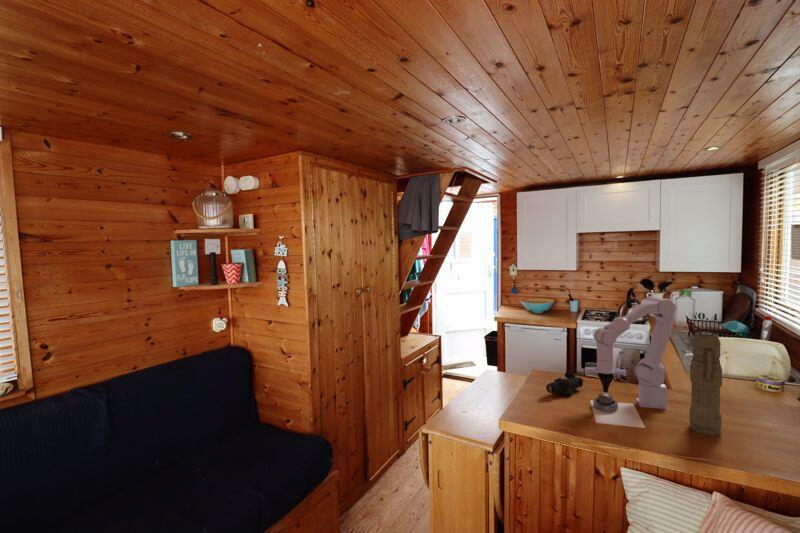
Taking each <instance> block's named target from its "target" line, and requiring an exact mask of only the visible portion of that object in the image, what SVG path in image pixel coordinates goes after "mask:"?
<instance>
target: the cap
mask: <svg viewBox="0 0 800 533" xmlns="http://www.w3.org/2000/svg"><path fill="white" fill-rule="evenodd" d="M598 397H599V403H600V404H603V405H613V399H614V398H613V395H612V394H610V393H608V392H600V393H598Z"/></svg>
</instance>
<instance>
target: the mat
mask: <svg viewBox="0 0 800 533" xmlns="http://www.w3.org/2000/svg"><path fill="white" fill-rule="evenodd" d="M589 401H590V405H591V409H592V412H593V417H594V420H595V423H596V424H603V425H611V426H623V427H629V428H630V427H631V428H642V429H646V426H645V424H644V422H643V421H642V418H641V416H640V414H639V412H638V410H637V408H636V407H635V403H629V402H627V403H625V402H617V403H618V409H617V411H616V412H611V413H609V412H602V411H599V410H597V409H595V408H594V404H593V399H591V400H589Z"/></svg>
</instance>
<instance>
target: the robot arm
mask: <svg viewBox="0 0 800 533" xmlns="http://www.w3.org/2000/svg"><path fill="white" fill-rule="evenodd" d="M676 310H677V306H676V304H675V303H674V301H673V300H672V299H669V298H662V297H659V296H654V295H647V296H646V297H645V298H644V299H642V300H641V302H640V304H638V305H637V306H636V307H635V308H633V309H632V310H630V312H628V313H627V314H625V316H623V317H621V316H618V317H615V318H613V320H612V321H611V322H608V323H607V324H605V325H604V327H599V328H597V329H596V330H595V331H594V333H593V334H592V336H593V339H594V340H595V343H596V366H589V367H587V366H585V367H584V373H585V374H597V376H598V378H599V380H600V382H601V386H602V390H603V393H608V392H609V388H610V385H611V383H612V381H613V380H614V376H615V375H617V376H624V377H627V370H626V369H624V368H622V369H621V368H617V367H614V344H615V343H616V341H617V339H618V338H619V337H620V336H621V335H622V334H624V333H625V332H626V331H628V330H630V327H631V324H633V323H635V322H636V321H638V320H640V319H642V318H643V317H645V316H646V315H652V316H653V317H654V318H655V320H656V323H655V326H654V331H653V332H652V336H651V339H650V342H649V346H648V349H647V352H646V354H645V357H643V358H641V359H640V360H639V362H638V364H637V365H636V366H635V368H634V375H635V377H637V381H638V397H636V398H635V399H636V401H637V403H638V405H639V407H640V408H648V409H649V408H651V409H661V410H668V409H669V408H668V388H667V385H666V384H664V381H665V372H666V369H665V366H664V365H663V363H662V361H663V358H664V356H665V352H666V350H667V345H668V342H669V340H670V336H671V333H672V330H673V328H674V324H675V313H676Z"/></svg>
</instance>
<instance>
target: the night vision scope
mask: <svg viewBox="0 0 800 533" xmlns="http://www.w3.org/2000/svg"><path fill="white" fill-rule="evenodd" d="M564 377H565V378H562V377H560V378H556V379H554V381H552V382H550V383H548V384H547V385H546V386H545V388H546V391H547V393H549V394H560V393H561V394H562V396H563V397H564V398H565V397H568V396H569V397H570V396H572V394H574V393H575V392H574V391H573V390H577V389H579V388H582V387H583V385H584V383H583V382H585V380H584V378H582V377H578V376H576V375H575V373H573V372H570V371H566V372H565V373H564Z"/></svg>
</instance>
